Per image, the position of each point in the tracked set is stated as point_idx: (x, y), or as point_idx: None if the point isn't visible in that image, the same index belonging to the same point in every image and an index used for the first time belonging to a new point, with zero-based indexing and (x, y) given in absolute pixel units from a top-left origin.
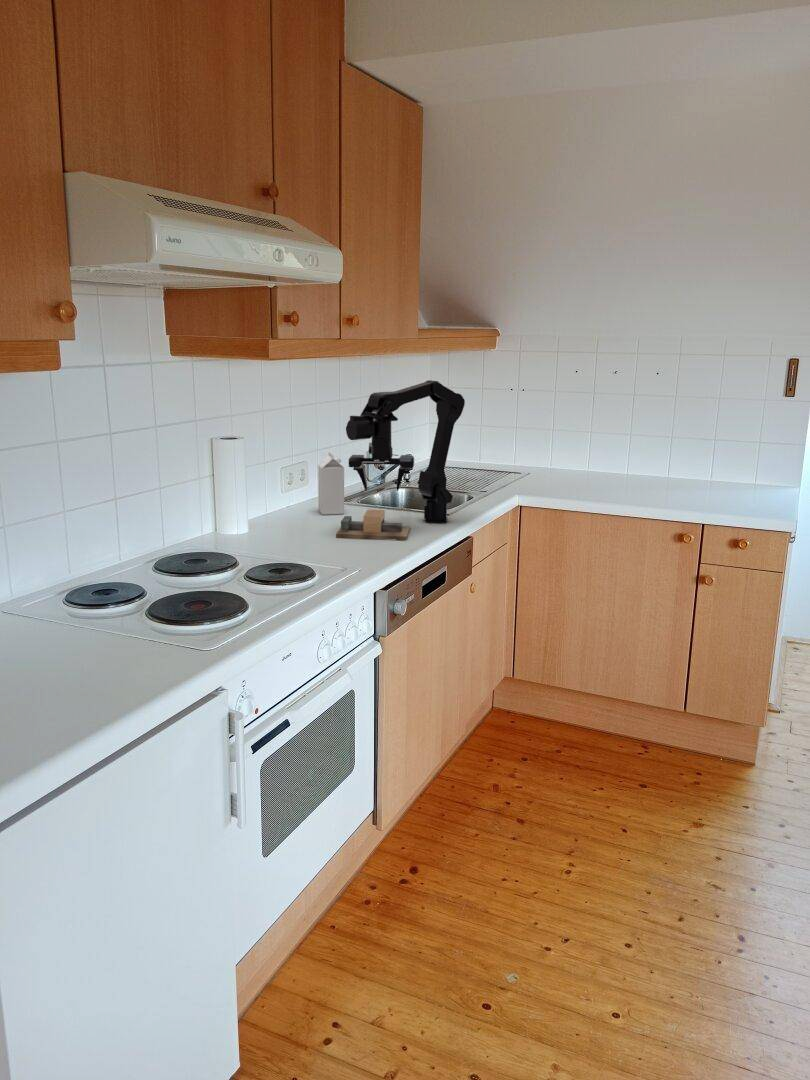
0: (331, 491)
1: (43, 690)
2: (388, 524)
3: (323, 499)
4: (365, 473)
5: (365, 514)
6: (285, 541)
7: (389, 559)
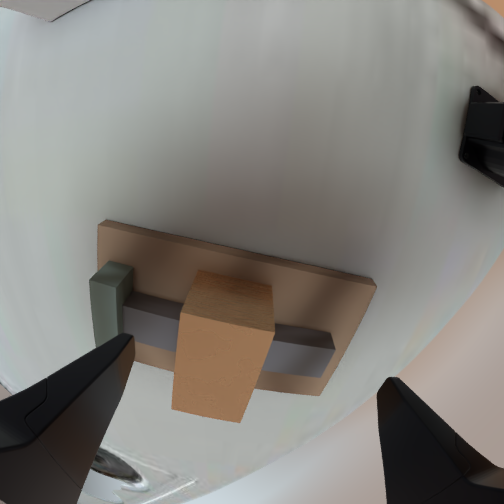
0: None
1: (80, 501)
2: (276, 365)
3: (16, 7)
4: (51, 444)
5: (176, 391)
6: (23, 343)
7: (246, 465)
